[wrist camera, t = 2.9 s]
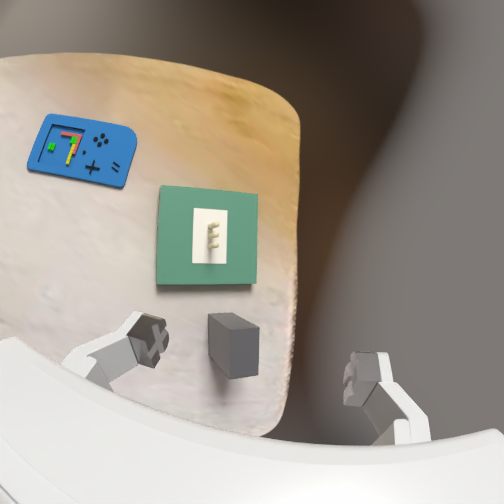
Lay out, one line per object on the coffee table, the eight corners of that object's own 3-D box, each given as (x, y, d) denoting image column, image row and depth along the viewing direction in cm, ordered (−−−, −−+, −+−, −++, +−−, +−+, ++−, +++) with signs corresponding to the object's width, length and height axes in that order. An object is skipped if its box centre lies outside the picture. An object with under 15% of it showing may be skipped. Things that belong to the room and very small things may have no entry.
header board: (156, 283, 33) (159, 287, 29) (160, 188, 33) (163, 179, 29) (251, 282, 38) (265, 285, 34) (253, 196, 38) (267, 190, 34)
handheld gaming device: (123, 187, 30) (24, 167, 24) (123, 189, 31) (27, 170, 25) (141, 128, 31) (46, 112, 25) (141, 132, 32) (48, 115, 26)
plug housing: (208, 354, 35) (229, 379, 28) (208, 313, 36) (229, 329, 28) (232, 352, 37) (258, 375, 29) (232, 312, 37) (259, 327, 29)
